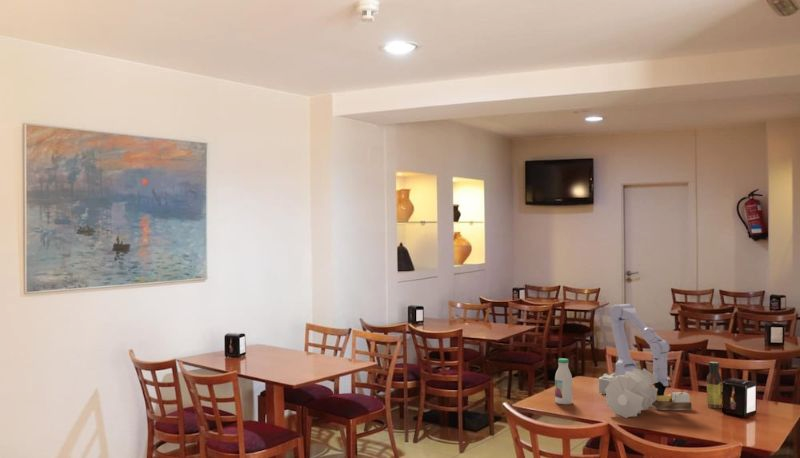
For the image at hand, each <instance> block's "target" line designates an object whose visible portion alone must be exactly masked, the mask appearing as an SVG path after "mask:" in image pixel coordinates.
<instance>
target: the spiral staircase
mask: <svg viewBox="0 0 800 458" xmlns="http://www.w3.org/2000/svg"><path fill="white" fill-rule="evenodd" d="M609 382H610V383H609V385H608V386H607V387H606V389H605V391H606V395H605V402H606V406H607V408H609V409H610V410H611V411H612V412H613V413H614V414H615V416H617V415H619V416H621V417H623V418H625V419H628V418H630V417H631V418H632V417H638V414H641V413H642V412H641V411H645V410H649V408H651V407H652V403H653V402H655V401H656V400H657V398H656V395H657V390H658V389H657V388H655V386H651V385H654V384H655V383H658V380H657V377H656V375H655V373H654V374H653V373H651V372H650V371H649V370H647V369H646V368H642V369H639V368H638V369H634V368H633V371H630V372H628V371H627V373H626V372H625V374H624V375H618V376H616V378H615V379H612V380H609ZM652 408H653V407H652Z"/></svg>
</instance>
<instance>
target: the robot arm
mask: <svg viewBox="0 0 800 458" xmlns="http://www.w3.org/2000/svg"><path fill="white" fill-rule="evenodd" d="M609 315H610V326H611V330H612V334H613V340H614V346H615V348H616V353H617V358H618V360H617V361H616V362H615V374H616V376H618V375H624V374H625V372H626V373H627V371H628V372H630V371H633V368H634V369H639V367H638V366H637V364H636V360H634V359H633V358H632V357H631V353H630V348H629V344H628V340H627V339H628V338H627V335H626V330H625V326H624V325H625V323H626V322H627V321H630V322H631V323H632V324H633V325H634V326H635V327H636V328H637V329H638V330H639V331H640V332H641V334H640V335H641V337H642V338H643V339H644V340H645V342H646V343H647V344H648V346H649V349H650V352H651V354H652V355H651V356H652V358H653V360H652V361H653V362H652V363H653V364H652V365H653V366H652V372H653V373H652V374H654V373H655V375H656V377H657V380H658V383H655V384H653V387H655V388H657V389H658V390H657V394H656V395H665V390H666V389H667V387H669V381H670V380H671V377H669V376H668V353H669V352H670V351H671V346H670V343H669V342H668V341H667V340H666V339H663V338H662V337H661V336H660V335H658V333H656V331H655V329H654V328H652V327H648V326H647V324H646V323H645V322H644V321H643V319H642V318H641V317H640V315H639V314H638V313H637V309H636V307H634V305H632V304H631V303H621V304H613V305H612V307H611V308H610V309H609Z"/></svg>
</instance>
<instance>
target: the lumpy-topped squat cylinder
mask: <svg viewBox="0 0 800 458" xmlns="http://www.w3.org/2000/svg"><path fill="white" fill-rule="evenodd" d="M615 378H616V373H611V374H608V373H604V374H603V375H602V376H600V377H598V393H599V394H600V393H603V394H602V395H605V394H606V391H605V389H606V387H607V386H608V385H609V383H610V382H609V380H612V379H615Z"/></svg>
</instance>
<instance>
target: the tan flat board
mask: <svg viewBox="0 0 800 458" xmlns="http://www.w3.org/2000/svg"><path fill="white" fill-rule="evenodd" d="M652 408H653V409H654V410H655V411H693V407H692V402H690V403H675V402H674V401H673V400H672V401H655V402H653V403H652Z"/></svg>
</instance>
